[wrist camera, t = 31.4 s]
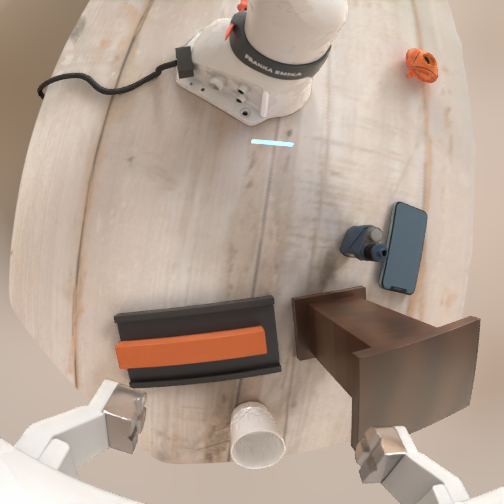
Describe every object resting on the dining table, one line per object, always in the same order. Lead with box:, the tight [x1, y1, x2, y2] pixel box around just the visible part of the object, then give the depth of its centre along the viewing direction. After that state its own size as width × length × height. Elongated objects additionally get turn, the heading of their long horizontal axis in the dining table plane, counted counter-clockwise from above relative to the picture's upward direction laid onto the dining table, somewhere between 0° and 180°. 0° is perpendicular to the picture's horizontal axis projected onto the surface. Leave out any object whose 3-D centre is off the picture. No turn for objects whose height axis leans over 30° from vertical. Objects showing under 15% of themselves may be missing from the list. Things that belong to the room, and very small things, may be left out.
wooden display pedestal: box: [292, 286, 480, 450], centre depth 36 cm, size 14×10×26 cm
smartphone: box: [379, 202, 427, 295], centre depth 49 cm, size 8×2×15 cm
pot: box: [406, 48, 438, 83], centre depth 47 cm, size 8×8×7 cm
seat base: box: [114, 295, 281, 388], centre depth 46 cm, size 24×12×2 cm, turn 97°
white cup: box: [230, 401, 286, 470], centre depth 43 cm, size 8×8×10 cm
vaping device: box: [340, 225, 388, 262], centre depth 43 cm, size 3×5×12 cm, turn 156°
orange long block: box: [115, 326, 267, 369], centre depth 44 cm, size 22×4×3 cm, turn 97°
